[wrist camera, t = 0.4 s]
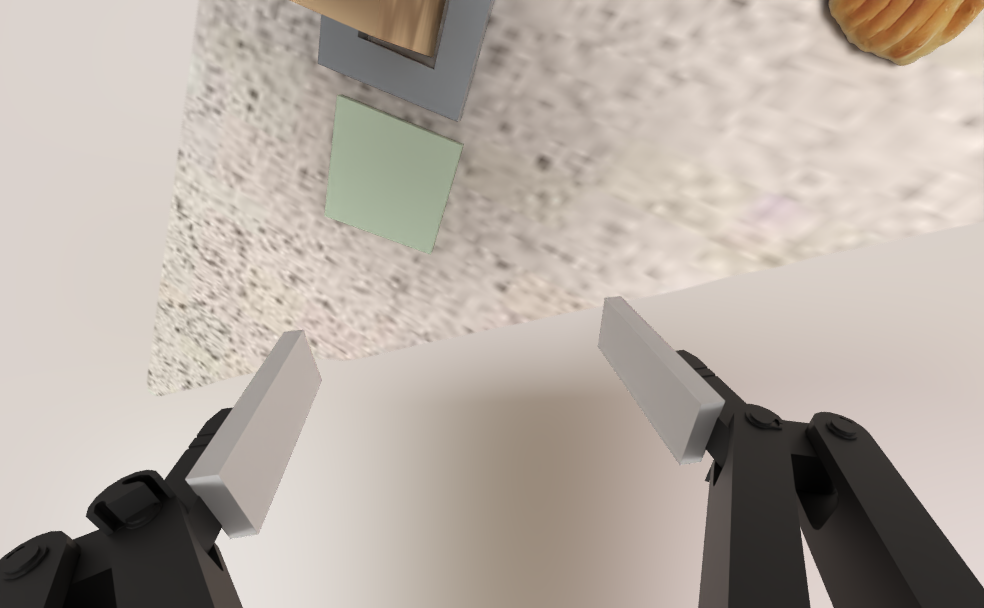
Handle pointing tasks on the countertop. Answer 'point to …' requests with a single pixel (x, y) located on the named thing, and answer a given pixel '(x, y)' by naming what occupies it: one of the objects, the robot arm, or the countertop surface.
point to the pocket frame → (407, 76)
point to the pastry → (903, 25)
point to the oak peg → (388, 19)
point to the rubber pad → (389, 175)
